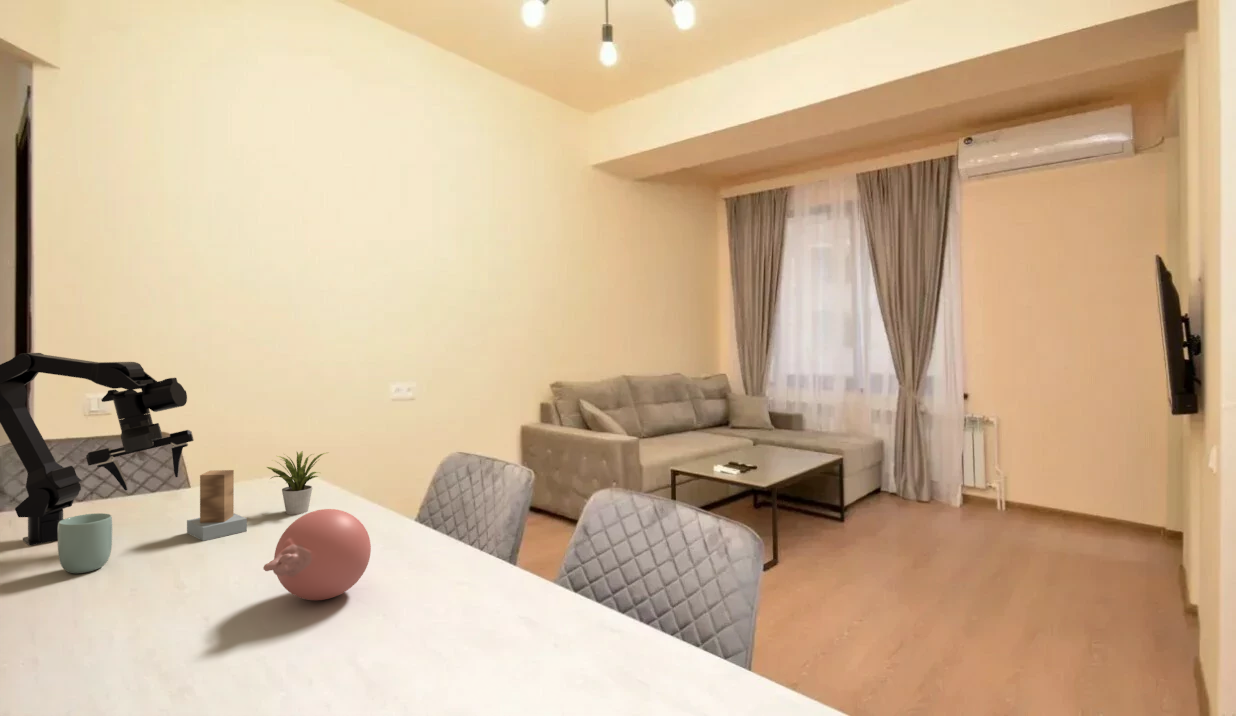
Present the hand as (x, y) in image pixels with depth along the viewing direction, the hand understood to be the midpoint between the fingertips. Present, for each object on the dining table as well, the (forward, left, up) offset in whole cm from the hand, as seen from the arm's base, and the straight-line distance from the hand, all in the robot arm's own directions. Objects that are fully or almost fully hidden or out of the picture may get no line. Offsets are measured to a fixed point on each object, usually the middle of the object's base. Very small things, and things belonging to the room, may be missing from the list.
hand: (152, 483), depth 136 cm
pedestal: (+7, +10, -12) cm, 18 cm away
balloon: (+61, +4, -12) cm, 63 cm away
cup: (+13, -15, -12) cm, 23 cm away
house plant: (+4, +31, -12) cm, 34 cm away
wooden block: (+7, +10, -9) cm, 16 cm away
